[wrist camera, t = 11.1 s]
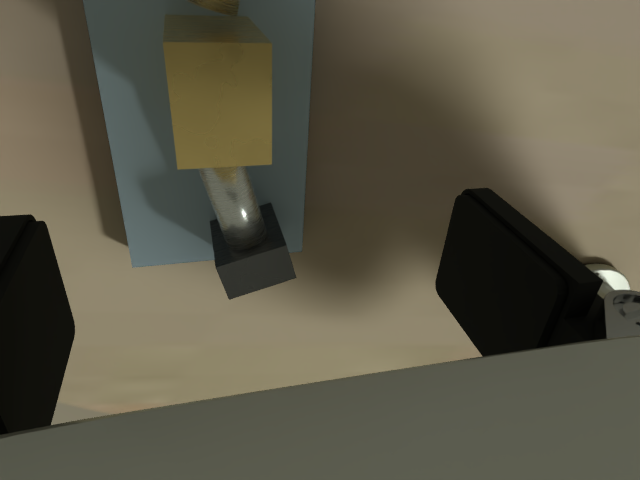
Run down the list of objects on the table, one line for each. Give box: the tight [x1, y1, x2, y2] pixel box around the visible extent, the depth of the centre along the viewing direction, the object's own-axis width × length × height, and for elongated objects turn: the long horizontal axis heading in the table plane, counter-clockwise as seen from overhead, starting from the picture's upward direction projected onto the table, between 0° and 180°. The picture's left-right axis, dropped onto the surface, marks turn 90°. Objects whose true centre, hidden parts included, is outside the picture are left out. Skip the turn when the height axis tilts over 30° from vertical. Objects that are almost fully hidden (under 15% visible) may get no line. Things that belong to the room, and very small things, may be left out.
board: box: [83, 0, 315, 268], centre depth 25 cm, size 24×11×2 cm, turn 176°
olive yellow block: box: [163, 15, 272, 170], centre depth 22 cm, size 5×4×7 cm
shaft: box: [198, 166, 296, 299], centre depth 27 cm, size 8×4×5 cm, turn 11°
